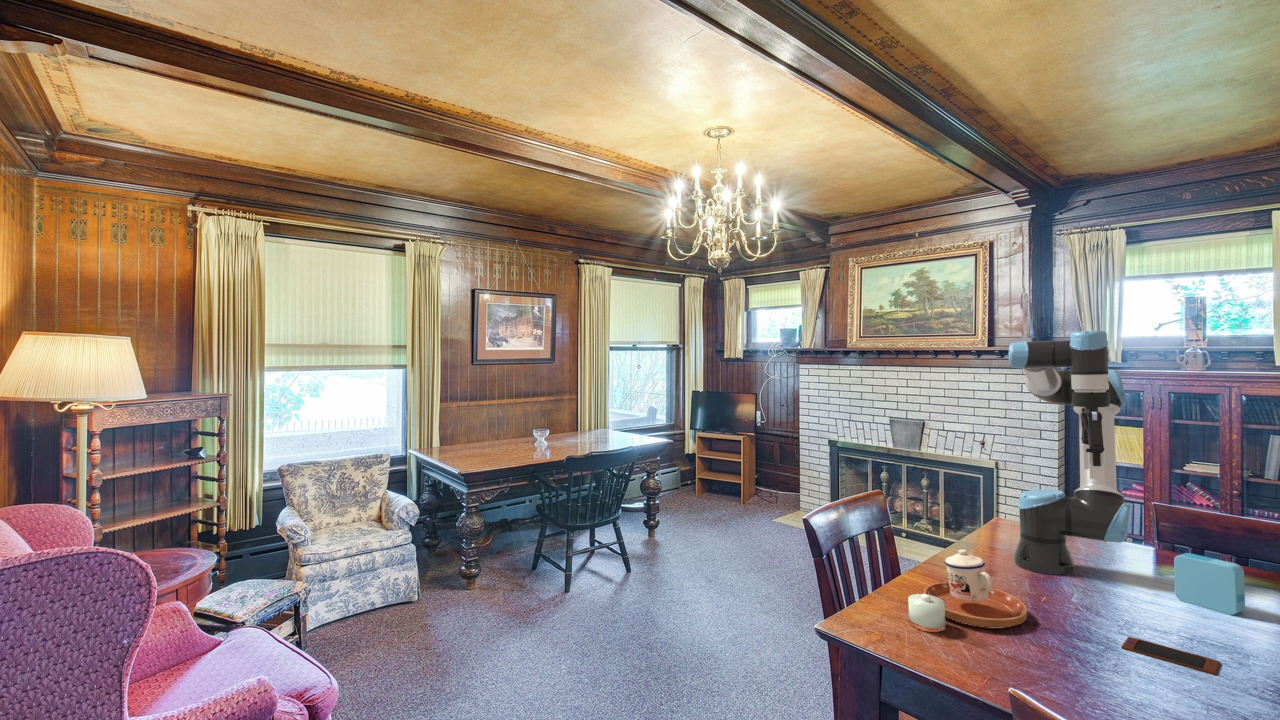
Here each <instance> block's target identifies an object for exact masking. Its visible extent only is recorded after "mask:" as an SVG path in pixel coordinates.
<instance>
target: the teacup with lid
mask: <svg viewBox="0 0 1280 720" xmlns="http://www.w3.org/2000/svg"><path fill="white" fill-rule="evenodd" d="M944 564H945V566H946V573H947V579H948V580H947V581H948V582H949V586H950V593H951V595H952V597H954V598H956V599H958V600H962V601H970V602H976V601H983V600H986V599H987V598H988V597H989V594H988V592H990V591H991V590H992V588H994V582H993V578H992V576H990V575H989V574H988V573H987V572H986V569H985V564H986V562H985V561H984V560H983V559H982V558H980V557H979V556H976V555H975V556H974V555H972V554H970V553H968V551H967V550H966V549H959V550H958V553H955V554H953V555H951V556H948V557H946V558H945V560H944Z"/></svg>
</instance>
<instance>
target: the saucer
mask: <svg viewBox="0 0 1280 720" xmlns="http://www.w3.org/2000/svg"><path fill="white" fill-rule="evenodd" d="M923 594H928V595H932V596H935V597H941V596H949V595H950V596H951V598H948V599H946V600H948V602H946V603H948V604H949V605H948V607H949V608H950V610H948V609H946V608H945V616H947V617H949V618H951V619H954V620H957V621H960V622H963V623H967V624H972V625H976V626H984V627H1008V628H1010V627H1009V626H1012V627H1014V626H1018V625H1020V624H1023V623H1024V622H1025V621H1027V618H1028V609H1027V607H1026V605H1025V603H1024V602H1023V601H1022V600H1020V599H1019V598H1018V597H1015V596H1014V595H1012V594H1010V593H1008V592H1005V591H1002V590H1000V589H997V588H994V587H993V588H992V590H991V591H990V592H988V594H989V597H988V598H987V599H986V600H983V601H976V602H970V601H962V600H958V599H956V598H954V597H952V595H951V593H950V586H949V581H944V582H937V583H933V584H932V583H931V584H930V585H928V586H926V587H925V588H924V590H923ZM951 610H952V611H951Z"/></svg>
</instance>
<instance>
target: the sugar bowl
mask: <svg viewBox="0 0 1280 720" xmlns="http://www.w3.org/2000/svg"><path fill="white" fill-rule="evenodd" d="M907 599H908V620H909V619H910V620H911V621H912V622H914V623H916V624H919V625H921V626H924V627H929V628H942V627H944V626H945V627H946V617H945V602H944V601H943V600H942V599H940V598H938V597H935V596H932V595H928V594H924V593H916V594H915V593H914V594H911V595H908V597H907Z"/></svg>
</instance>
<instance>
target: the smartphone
mask: <svg viewBox="0 0 1280 720" xmlns="http://www.w3.org/2000/svg"><path fill="white" fill-rule="evenodd" d="M1120 649H1122V650H1124V651H1128V652H1131V653H1135V654H1138V655H1141V656H1142V655H1143V656H1144V657H1145V656H1146V657H1148V658H1153V659H1157V660H1159V661H1163V662H1167V663H1169V664H1174V665H1177V666H1181V667H1184V668H1187V669H1191V670H1193V671H1198V672H1201V673H1205V674H1209V675H1211V676H1215V677H1216V676H1218V674H1219V671H1220V668H1221V665H1222V663H1221V661H1219V660H1216V659H1212V658H1209V657H1207V656H1204V655H1203V656H1202V655H1199V654H1195V653H1191V652H1188V651H1184V650H1180V649H1176V648H1173V647H1169V646H1166V645H1162V644H1158V643H1155V642H1151V641H1147V640H1144V639H1139V638H1136V637H1131V636H1127V638H1126V640H1125V641H1124V642H1123V644H1122V645H1121V648H1120Z"/></svg>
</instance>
